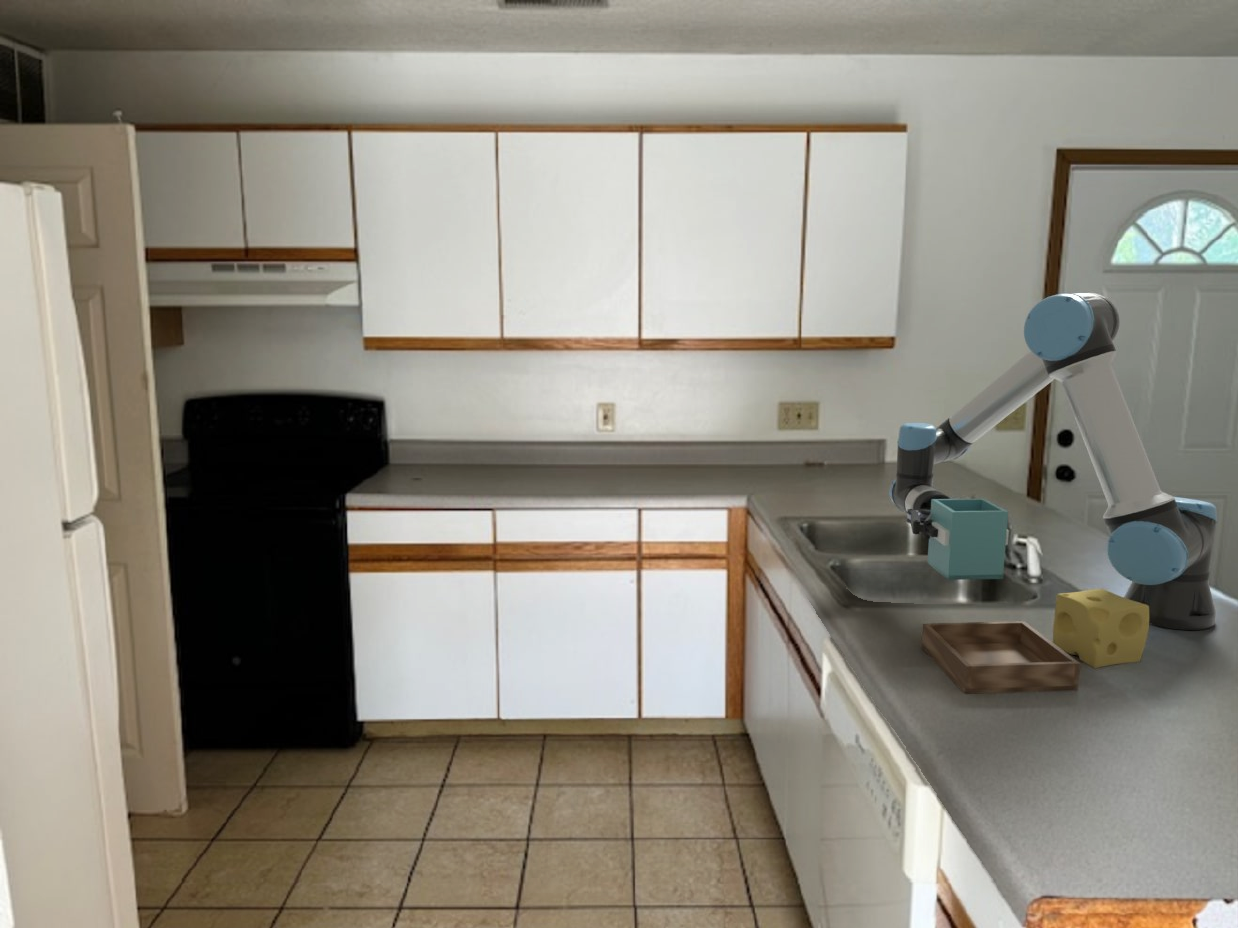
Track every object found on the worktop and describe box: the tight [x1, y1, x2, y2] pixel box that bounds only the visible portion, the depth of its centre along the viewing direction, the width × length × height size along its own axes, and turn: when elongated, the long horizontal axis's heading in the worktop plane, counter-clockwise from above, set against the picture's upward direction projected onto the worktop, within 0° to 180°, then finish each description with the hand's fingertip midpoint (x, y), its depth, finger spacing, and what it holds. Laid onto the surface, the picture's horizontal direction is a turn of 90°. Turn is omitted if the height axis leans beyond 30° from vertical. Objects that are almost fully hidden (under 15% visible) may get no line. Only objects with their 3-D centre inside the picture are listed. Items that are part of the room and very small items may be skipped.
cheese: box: [1052, 588, 1150, 669], centre depth 154 cm, size 10×11×10 cm
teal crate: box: [927, 497, 1009, 581], centre depth 165 cm, size 10×10×12 cm
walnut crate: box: [921, 620, 1081, 694], centre depth 148 cm, size 18×18×4 cm
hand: (976, 538), depth 160 cm, fingers closed on teal crate, 10 cm apart
